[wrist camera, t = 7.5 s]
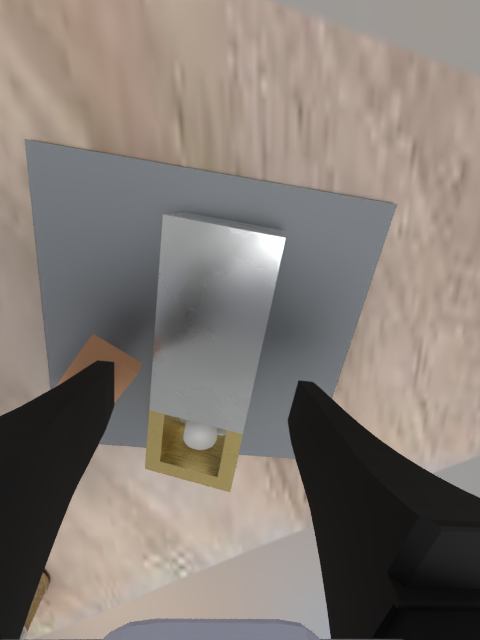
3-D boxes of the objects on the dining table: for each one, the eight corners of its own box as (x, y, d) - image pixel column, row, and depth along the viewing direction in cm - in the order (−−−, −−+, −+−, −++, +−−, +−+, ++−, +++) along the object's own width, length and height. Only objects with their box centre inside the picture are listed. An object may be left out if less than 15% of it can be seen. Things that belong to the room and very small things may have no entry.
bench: (59, 436, 20) (31, 478, 17) (30, 140, 13) (-23, 128, 11) (309, 455, 22) (323, 497, 19) (392, 203, 15) (432, 208, 12)
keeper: (103, 398, 19) (69, 460, 15) (67, 378, 18) (19, 438, 14) (158, 326, 17) (138, 373, 13) (121, 301, 17) (85, 342, 12)
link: (239, 450, 19) (230, 492, 16) (166, 431, 20) (145, 468, 17) (287, 231, 14) (285, 238, 11) (187, 212, 15) (162, 214, 12)
